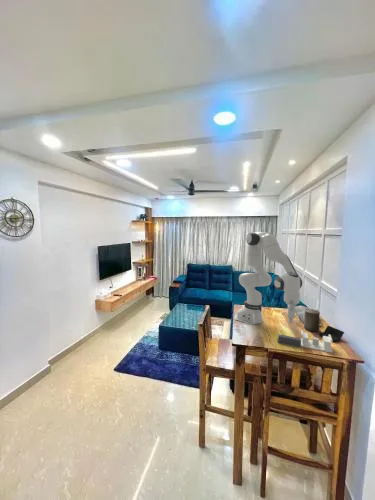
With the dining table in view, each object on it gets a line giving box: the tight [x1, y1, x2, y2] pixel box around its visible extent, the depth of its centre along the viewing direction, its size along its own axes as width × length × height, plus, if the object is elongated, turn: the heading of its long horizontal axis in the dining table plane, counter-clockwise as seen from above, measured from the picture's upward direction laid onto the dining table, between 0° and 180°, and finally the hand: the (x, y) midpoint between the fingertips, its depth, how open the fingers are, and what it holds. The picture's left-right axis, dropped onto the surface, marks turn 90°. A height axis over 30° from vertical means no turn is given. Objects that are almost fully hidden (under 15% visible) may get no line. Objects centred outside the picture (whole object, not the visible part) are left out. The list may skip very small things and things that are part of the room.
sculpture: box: [295, 305, 324, 326], centre depth 181 cm, size 25×19×10 cm
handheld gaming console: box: [318, 325, 345, 342], centre depth 148 cm, size 11×10×4 cm
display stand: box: [300, 329, 333, 354], centre depth 136 cm, size 17×10×8 cm, turn 65°
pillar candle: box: [303, 308, 321, 333], centre depth 161 cm, size 10×10×15 cm
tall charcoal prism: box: [277, 334, 302, 348], centre depth 138 cm, size 13×3×5 cm, turn 65°
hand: (290, 320), depth 137 cm, fingers open, 8 cm apart
